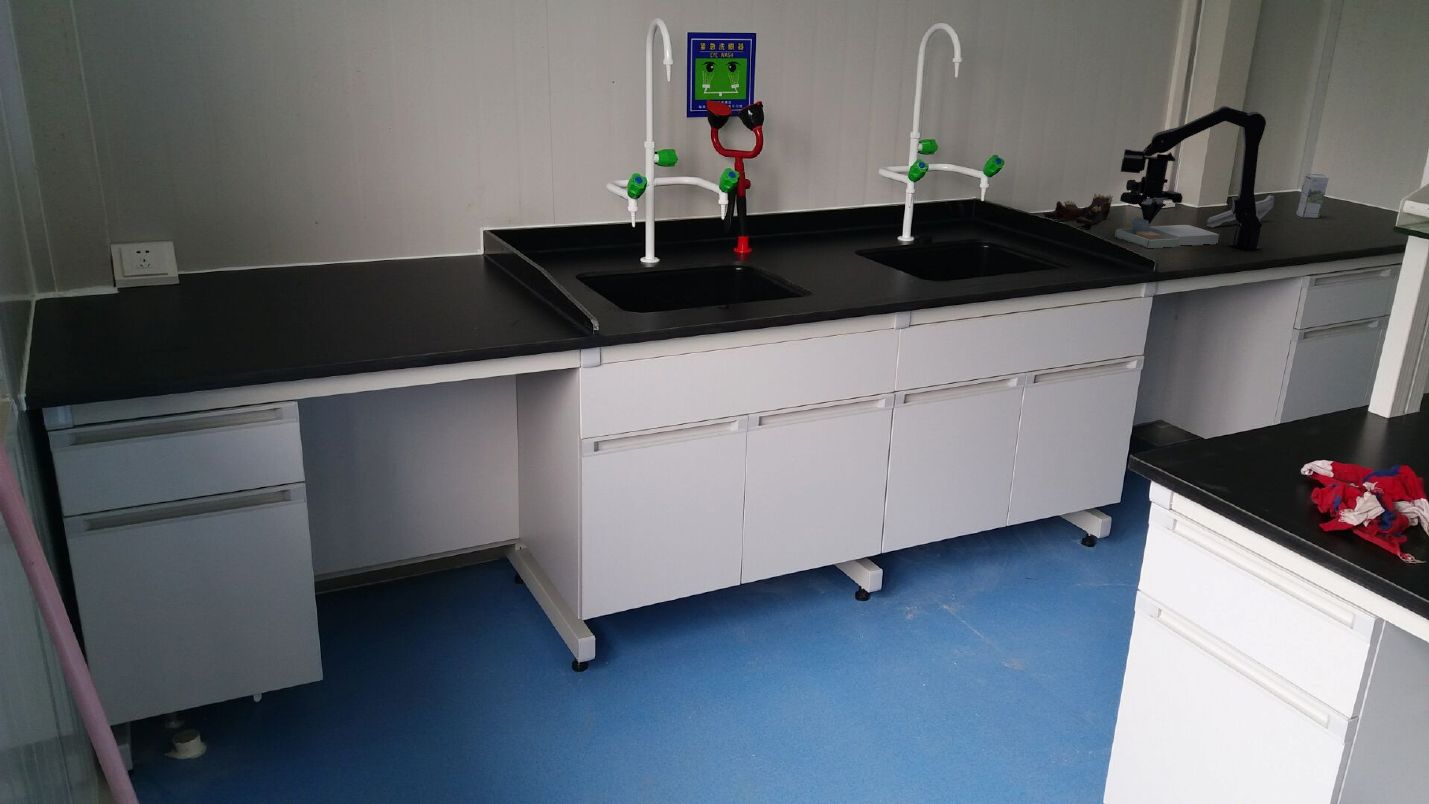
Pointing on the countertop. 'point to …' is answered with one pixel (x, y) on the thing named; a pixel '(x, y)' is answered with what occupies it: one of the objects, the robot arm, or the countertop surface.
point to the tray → (1131, 237)
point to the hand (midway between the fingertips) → (1146, 225)
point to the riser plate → (1186, 234)
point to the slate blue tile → (1140, 225)
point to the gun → (1260, 206)
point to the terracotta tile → (1148, 235)
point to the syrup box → (1312, 195)
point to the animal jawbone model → (1083, 211)
